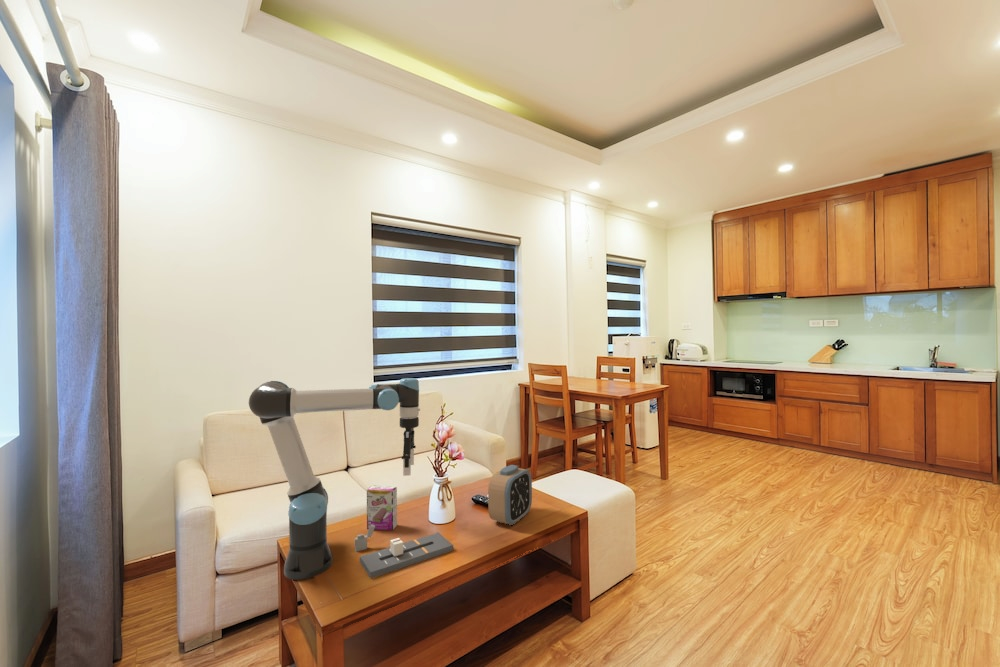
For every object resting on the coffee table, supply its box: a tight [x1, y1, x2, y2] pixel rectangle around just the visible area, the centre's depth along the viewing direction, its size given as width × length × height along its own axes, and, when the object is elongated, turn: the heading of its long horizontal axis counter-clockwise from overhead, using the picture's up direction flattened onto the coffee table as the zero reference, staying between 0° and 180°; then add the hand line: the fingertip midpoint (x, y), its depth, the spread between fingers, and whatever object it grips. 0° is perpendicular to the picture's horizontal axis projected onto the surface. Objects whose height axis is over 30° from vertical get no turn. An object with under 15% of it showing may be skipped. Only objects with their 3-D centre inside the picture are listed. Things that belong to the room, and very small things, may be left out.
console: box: [359, 532, 454, 579], centre depth 149 cm, size 30×12×2 cm, turn 124°
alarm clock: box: [487, 464, 533, 526], centre depth 178 cm, size 21×10×22 cm, turn 148°
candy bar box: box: [366, 485, 398, 531], centre depth 172 cm, size 11×5×16 cm, turn 84°
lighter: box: [354, 524, 375, 552], centre depth 156 cm, size 7×2×8 cm, turn 117°
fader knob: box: [389, 537, 404, 557], centre depth 147 cm, size 3×4×6 cm
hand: (408, 469), depth 169 cm, fingers open, 13 cm apart
